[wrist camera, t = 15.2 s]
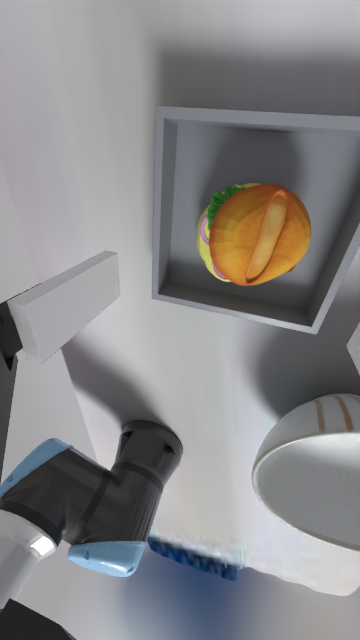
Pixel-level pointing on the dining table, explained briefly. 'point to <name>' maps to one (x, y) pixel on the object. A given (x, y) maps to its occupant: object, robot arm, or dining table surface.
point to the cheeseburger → (253, 233)
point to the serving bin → (264, 168)
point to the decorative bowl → (314, 470)
